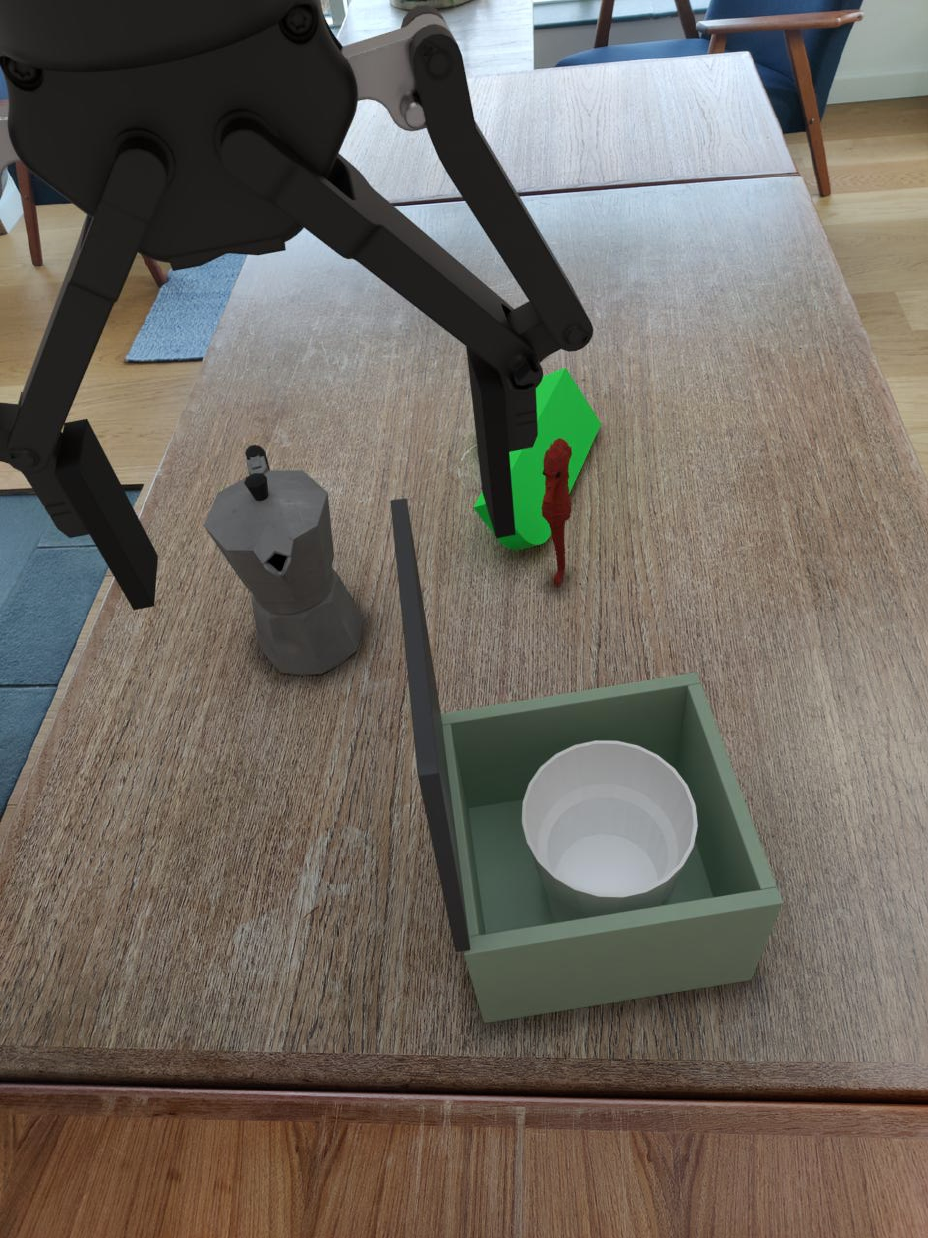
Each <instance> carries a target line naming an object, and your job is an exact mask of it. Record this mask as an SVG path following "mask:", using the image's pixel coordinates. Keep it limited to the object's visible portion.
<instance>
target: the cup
mask: <svg viewBox="0 0 928 1238" xmlns="http://www.w3.org/2000/svg"><path fill="white" fill-rule="evenodd" d="M522 825H523V829H524V833H525V837H526V841H527V844H528V847H529V849H530V852H531V855H532V858H533V860H534V863H535V866H536V868H537V871H538V874H539V876H540V878H541V881H542V883H543V885H544V888H545V890H546V892H547V895H548V899H549V903H550V907H551V911H552V915H553V920H554V922H558V923H559V922H565V921H571V920H577V919H584V918H590V917H596V916H602V915H608V914H615V913H621V912H627V911H633V910H639V909H645V908H652V907H658V906H661V905H662V903H663V902H664V900H666V899H667V898H669V897H670V896H672V893H673V890H674V887H675V884H676V882H677V879H678V876H679V874H680V873H681V871H682V869H683V867H684V865H685V863H686V861H687V859H688V857H689V855H690V853H691V851H692V849H693V847H694V842H695V837H696V832H697V827H698V824H697V814H696V805H695V802H694V800H693V797H692V795H691V793H690V790H689V788H688V785H687V784H686V783H685V781H684V780H683V779H682V778H681V776H680V775H679V774H678V772H677V771H676V770H675V768H673V767H672V766H671V765H670V764H668V763H667V762H666V761H665V760H663V759H662V758H661V757H660V756H658V755H657V754H655V753H652V752H650V751H648V750H646V749H644V748H642V747H640V746H638V745H633V744H629V743H625V742H620V741H591V742H587V743H582V744H577V745H574V746H572V747H570V748H568V749H565V750H563V751H561V752H559V753H557V754H555V755H554V756H553V757H552V758H551V759H550V760H548V761H547V762H546V763H545V764H544V765H542V766H541V767H540V768H539V770H538V771H537V773H536V774H535V776H534V777H533V778H532V780H531V781H530V783H529V785H528V788H527V791H526V794H525V797H524V800H523V807H522Z"/></svg>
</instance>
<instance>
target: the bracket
mask: <svg viewBox="0 0 928 1238" xmlns="http://www.w3.org/2000/svg"><path fill="white" fill-rule="evenodd" d="M536 403H537V425H538V436H537V438H536V441H535V443H534V446H533V447H532V448H527V449H522V450H516V451H511V452H509V456H510V468H511V481H512V494H513V507H514V520H515V533H516V535H511V536H506V537H501V538H496V540H497V541H498V542H499V543H500V544H501V546H504V547H505V548H506V549H508V550H510V551H520V550H523V549H524V550H525V549H527V548H528V549H529V548H532V547H535V546H539V545H543V544H545V543H546V542H547V541H548V540H549V539H550V537H551V536H552V535H551V529H550V526H549V524H548V522H547V520H546V519H545V518H544V517H543V516H542V509H541V508H542V503H543V502H542V501H543V499H544V495H545V489H546V487H545V479H546V478H545V475H543V470H544V464H543V460H544V456H545V453H546V451H547V450H549V449H550V445H551V444H553V442H554V441H555V440H557V439H559V438H561V439H563V440H565V441H566V442H567V443H568V445H569V447H570V446H571V449H572V456H571V458H570V460H569V467H568V470H569V471H568V472H569V479H568V487H569V495H571V492H572V489H573V488H574V485H575V482H576V480H577V478H578V476H579V474H580V471H581V470H582V467H583V465H584V463H585V462H586V459H587V456H588V455H589V452H590V450H591V448H592V446H593V443H594V441H595V439H596V437H597V435H598V432H599V431H600V428H601V426H602V423H601V421H600V420H599V418H598V416H597V415H596V413H595V411H594V410H593V408H592V406H591V405H590V403H589V402H588V401H587V398H586V397H585V395H584V394H583V393H582V391H581V389H580V388H579V386H578V384H577V382H576V381H575V380H574V378H573V376H572V375H571V373H570V372H569V369H568V368H567V367H563V368H560V369H558V370H556V371H553V372H550V373H548V374H546V375H543V378H542V382H541V383H540V384H539V386H538V387H537V388H536ZM472 508H473V510H474V511H475V512H476V513H477V514H478V516H479V517H480V519H481V521H483V523H484V524H485V525H486V526H487V528H488V529H489V530H490V532H491V533H492V535H494V537H495V533H494V530H493V527H492V523H491V520H490V516H489V513H488V509H487V506H486V503H485V499H484V496H483V492H482V491H481V493H480V494H479V496H478V497H477V500H476V501H475V503H474V505H473V507H472Z"/></svg>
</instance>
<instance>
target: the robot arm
mask: <svg viewBox="0 0 928 1238" xmlns="http://www.w3.org/2000/svg"><path fill="white" fill-rule="evenodd" d="M322 5H323V4H322V1H321V0H0V69H1V71H2V74H3V77H4V80H5V85H6V90H7V97H8V99H7V101H8V104H0V200H1V199H2V197H3V194H4V191H5V189H6V187H7V184H8V180H9V172H8V167H9V166H10V165H12V164H14V163H19V162H21V163H22V164H23V165H24V166H25V167H26V169H27V170H29V172H30V173H31V174H33V175H34V176H36V177H37V178H38V179H40V180H41V181H42V182H44V183H45V184H46V185H47V186H48V187H50V188H51V189H52V190H54V191H55V192H57V193H58V194H59V195H61V196H62V197H63V198H64V199H66V200H67V201H69V202H70V203H71V204H72V205H74V206H75V207H76V208H78V209H79V210H80V211H82V212H83V213H85V215H86V216H85V218H84V222H83V225H82V228H81V230H80V234H79V237H78V239H77V243H76V246H75V249H74V251H73V254H72V257H71V259H70V262H69V265H68V267H67V269H66V272H65V275H64V278H63V281H62V284H61V287H60V289H59V293H58V295H57V297H56V299H55V303H54V305H53V308H52V311H51V314H50V315H49V319H48V322H47V325H46V327H45V330H44V332H43V335H42V338H41V341H40V344H39V346H38V349H37V352H36V354H35V357H34V359H33V363H32V365H31V368H30V371H29V374H28V376H27V379H26V381H25V384H24V386H23V387H24V388H23V390H22V391H20V396H19V399H18V402H17V403H11V402H0V462H1V463H2V462H3V463H4V464H8V465H10V466H11V467H12V468H13V469H15V470H16V471H18V472H20V473H22V474H23V476H24V478H25V479H26V480H27V482H28V484H29V486H30V487H31V489H32V490H33V492H34V493H35V495H36V497H37V499H38V500H39V501H40V503H41V505H42V506H43V507H44V509H45V511H46V513H47V514H48V516H49V517H50V519H51V521H52V523H53V524H54V526H55V527H56V529H57V530H58V531H60V532H61V533H62V534H63V535H65V536H66V537H67V538H69V539H73V538H78V537H79V538H80V537H83V536H89V537H90V538H91V540H92V541H93V543H94V545H95V547H96V549H97V551H98V552H99V554H100V555H101V558H102V559H103V560H104V562H105V564H106V565H107V567H108V569H109V570H110V572H111V574H112V576H113V577H114V580H115V581H116V582H117V584H118V586H119V588H120V589H121V591H122V593H123V594H124V596H125V598H126V600H127V601H128V603H129V605H130V606H131V608H132V610H133V611H138V610H143V609H148V608H153V607H155V603H156V602H155V600H156V589H157V588H156V587H157V573H158V561H159V554H158V553H157V550H156V549H155V548H154V545H153V543H152V541H151V540H150V537H149V536H148V533H147V531H146V530H145V528H144V526H143V524H142V522H141V520H140V518H139V516H138V514H137V512H136V510H135V509H134V506H133V504H132V503H131V501H130V498H129V497H128V495H127V493H126V491H125V489H124V487H123V485H122V484H121V482H120V479H119V478H118V476H117V474H116V472H115V470H114V468H113V465H112V464H111V462H110V460H109V458H108V456H107V454H106V453H105V451H104V448H103V446H102V444H101V443H100V440H99V439H98V437H97V435H96V433H95V431H94V429H93V428H92V425H91V423H90V421H89V420H88V418H82V419H78V420H71V421H67V419H68V416H69V415H70V412H71V409H72V407H73V404H74V402H75V399H76V397H77V395H78V392H79V390H80V388H81V385H82V382H83V380H84V377H85V376H86V373H87V371H88V368H89V365H90V363H91V360H92V358H93V356H94V353H95V351H96V349H97V347H98V343H99V342H100V339H101V337H102V334H103V331H104V328H105V327H106V324H107V322H108V320H109V317H110V316H111V313H112V310H113V308H114V305H115V303H117V302H118V300H119V298H120V296H121V294H122V292H123V289H124V286H125V285H126V282H127V279H128V277H129V275H130V272H131V270H132V267H133V265H134V262H135V260H136V258H137V255H138V254H140V255H142V256H144V257H145V258H147V259H150V260H153V261H156V262H160V263H165V264H166V263H167V264H169V265H170V268H171V270H172V272H176V271H180V270H187V269H193V268H197V267H201V266H204V265H206V264H208V263H210V262H212V261H214V260H216V259H219V258H220V257H223V256H225V255H227V254H232V255H233V254H234V255H247V256H248V255H249V256H263V255H268V254H273V253H279V252H285V251H286V249H287V248H286V243H288V242H289V241H291V240H292V239H293V238H295V237H296V236H298V235H299V234H300V233H301V232H302V231H303V230H304V229H305V230H306V231H308V232H309V233H310V234H312V236H314V237H315V238H317V239H318V240H319V241H320V242H322V243H323V244H324V245H326V246H327V247H328V248H330V249H331V250H332V251H333V252H335V253H336V254H338V256H341V257H342V258H343V259H345V260H354V261H356V262H357V263H358V264H360V265H361V266H362V267H364V268H365V269H367V270H368V271H369V272H370V273H371V274H373V275H374V276H375V277H377V278H378V279H379V280H380V281H382V282H383V283H384V284H386V285H387V286H388V287H389V288H390V289H392V290H393V291H395V293H397V294H398V295H400V296H401V297H402V298H403V299H404V300H406V301H407V302H408V303H410V304H411V305H413V307H415V308H416V309H418V310H419V311H420V312H422V313H423V315H426V317H428V318H429V319H430V320H431V321H433V322H434V323H436V324H437V325H438V326H439V327H440V328H442V329H443V330H444V331H446V332H447V333H448V334H449V335H451V336H452V337H453V338H455V339H456V340H457V341H459V342H460V343H461V344H462V345H464V346H465V349H466V357H467V367H468V375H469V384H470V385H469V386H470V393H471V402H472V411H473V421H474V429H475V438H476V439H475V440H476V445H477V446H476V447H477V456H478V465H479V473H480V475H479V476H480V482H481V483H480V484H481V493H482V492H483V496H484V499H485V503H486V506H487V509H488V513H489V516H490V520H491V523H492V527H493V530H494V533H495V536H494V537H495V539H497V538H501V537H506V536H511V535H516V533H515V520H514V507H513V494H512V481H511V468H510V456H509V452H511V451H516V450H522V449H527V448H532V447H533V446H534V443H535V441H536V438H537V436H538V425H537V403H536V388H537V387H538V386H539V384H540V383H541V382H542V378H543V376H544V371H543V369H544V368H543V367H542V365H541V364H542V362H543V361H544V360H545V359H547V357H549V356H550V355H552V354H554V353H556V352H558V351H560V350H562V351H566V352H578V351H580V350H583V349H584V348H585V347H586V346H587V345H588V344H590V341H591V340H592V338H593V335H594V327H593V324H592V321H591V319H590V317H589V316H588V314H587V312H586V310H585V308H584V306H583V304H582V302H581V301H580V299H579V296H578V295H577V292H576V291H575V288H574V287H573V284H572V283H571V281H570V280H569V278H568V276H567V275H566V273H565V271H564V270H563V267H561V264H560V263H559V261H558V259H557V257H556V256H555V254H554V252H553V251H552V249H551V247H550V246H549V244H548V242H547V241H546V239H545V237H544V236H543V234H542V232H541V230H540V229H539V226H538V225H537V223H536V222H535V220H534V219H533V217H532V215H531V213H530V212H529V210H528V208H527V206H526V204H525V203H524V201H523V200H522V198H521V196H520V194H519V193H518V191H517V190H516V188H515V186H514V184H513V183H512V181H511V179H510V178H509V175H508V174H507V172H506V171H505V169H504V168H503V166H502V164H501V163H500V161H499V159H498V157H497V156H496V154H495V152H494V151H493V149H492V147H491V145H490V144H489V142H488V141H487V138H486V137H485V135H484V134H483V131H482V130H481V128H480V127H479V124H478V123H477V122H476V120H475V116H474V110H473V105H472V100H471V94H470V89H469V84H468V79H467V74H466V68H465V64H464V57H463V54H462V52H461V49H460V46H459V44H458V42H457V41H456V39H455V37H454V35H453V33H452V31H451V29H450V27H449V26H448V24H447V22H446V19H444V16H443V15H442V14H441V13H440V11H438V10H437V9H436V8H435V7H433V6H430V5H428V4H423V5H421V4H420V5H416V6H414V7H413V8H411V9H409V11H408V12H407V13H406V14H405V15H404V17H403V19H402V22H401V25H400V28H397V29H394V30H391V31H387V32H384V33H382V34H378V35H375V36H371V37H368V38H365V39H362V40H360V41H356V42H353V43H350V44H347V45H342V43H341V42H340V41H339V39H338V38H337V37H336V35H335V34H334V32H333V31H332V29H331V27H330V26H329V23H328V21H327V19H326V16H325V15H324V12H323V6H322ZM364 100H370V101H375V102H377V103H379V104H380V105H381V106H383V108H385V109H386V110H387V113H388V114H389V116H390V118H391V120H392V121H393V123H394V124H395V125H396V126H397V127H398V128H400V129H401V130H404V131H407V132H417V131H421V130H424V129H426V131H427V133H428V136H429V138H430V140H431V143H432V146H433V148H434V150H435V154H436V155H437V157H438V160H439V161H440V163H441V165H442V167H443V169H444V170H445V172H446V174H447V175H448V177H449V179H450V180H451V181H452V183H453V185H454V186H455V188H456V189H457V191H458V192H459V194H460V196H461V197H462V198H463V200H464V202H465V204H466V205H467V207H468V208H469V210H470V211H471V213H472V214H473V216H474V218H475V219H476V220H477V222H478V223H479V225H480V227H481V228H482V230H483V231H484V233H485V234H486V236H487V238H488V239H489V241H490V242H491V244H492V246H493V247H494V248H495V250H496V252H497V253H498V255H499V256H500V258H501V259H502V260H503V262H504V264H505V265H506V267H507V269H508V271H509V272H510V273H511V275H512V276H513V278H514V280H515V281H516V283H517V285H518V286H519V287H520V289H521V291H522V292H523V294H524V296H525V297H526V298H527V300H528V301H527V302H525V303H523V304H521V305H519V306H518V307H515V308H514V307H513V306H512V305H511V304H509V303H508V302H507V301H506V300H504V299H503V298H502V297H501V296H500V295H498V294H497V292H495V291H494V290H492V288H491V287H489V286H488V285H487V284H486V283H484V281H482V280H481V279H480V278H479V277H478V276H477V275H475V274H474V273H473V272H472V271H471V270H470V269H468V268H467V267H466V266H465V265H464V264H462V263H461V262H460V261H459V260H458V259H457V258H455V257H454V256H453V255H452V254H451V253H449V252H448V250H446V249H445V248H444V247H442V246H441V245H440V244H439V243H438V242H437V241H435V239H433V238H432V237H431V236H430V235H428V234H427V233H426V231H424V230H423V229H421V228H420V227H419V226H418V225H417V224H416V223H414V222H413V220H411V219H410V218H409V217H407V216H406V215H405V213H402V212H401V211H400V210H399V209H398V208H397V207H396V206H394V205H393V204H392V203H391V202H390V201H389V200H387V199H386V198H385V197H384V196H383V195H381V193H379V192H378V191H377V190H376V189H375V188H374V187H373V186H372V184H370V183H369V181H368V180H367V178H366V177H365V176H364V175H363V173H362V172H361V171H360V170H359V169H358V168H357V167H356V166H355V165H353V164H352V163H351V162H350V161H348V159H346V157H344V156H342V154H340V151H341V149H342V146H343V144H344V142H345V139H346V137H347V135H348V133H349V131H350V128H351V126H352V123H353V121H354V118H355V116H356V113H357V109H358V103H359V102H360V101H364ZM66 421H67V422H66Z"/></svg>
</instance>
